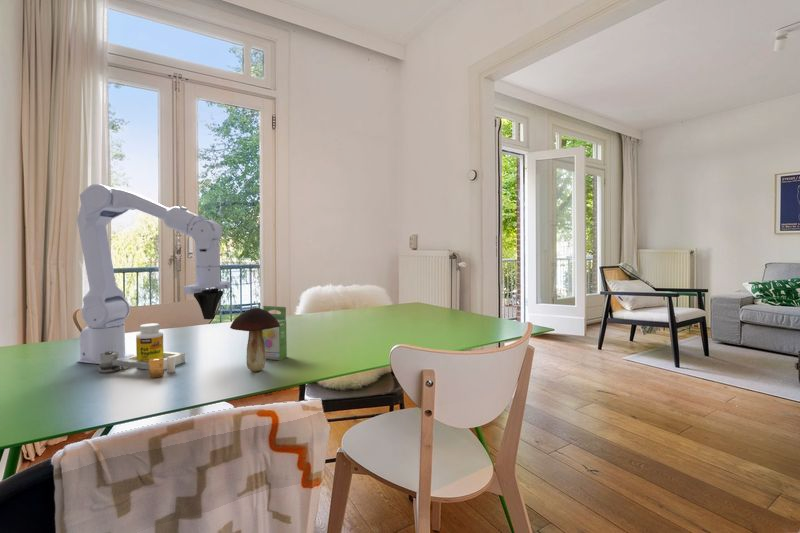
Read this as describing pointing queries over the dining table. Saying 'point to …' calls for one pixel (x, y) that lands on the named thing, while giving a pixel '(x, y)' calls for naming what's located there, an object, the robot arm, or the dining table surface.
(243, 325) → the decorative mushroom
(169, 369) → the post
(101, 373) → the mount
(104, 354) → the gold-tipped lever
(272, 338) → the ink box
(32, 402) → the dining table surface
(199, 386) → the dining table surface
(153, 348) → the supplement bottle
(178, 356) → the socket
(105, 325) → the robot arm
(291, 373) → the dining table surface
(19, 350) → the dining table surface
